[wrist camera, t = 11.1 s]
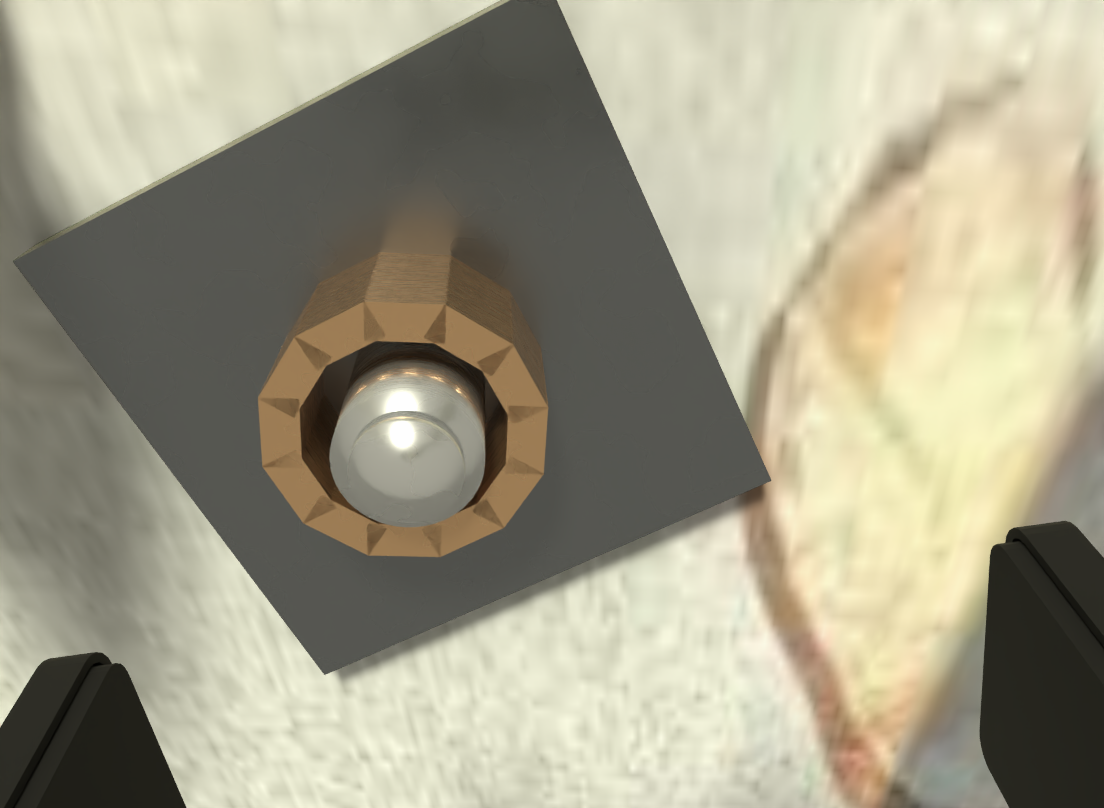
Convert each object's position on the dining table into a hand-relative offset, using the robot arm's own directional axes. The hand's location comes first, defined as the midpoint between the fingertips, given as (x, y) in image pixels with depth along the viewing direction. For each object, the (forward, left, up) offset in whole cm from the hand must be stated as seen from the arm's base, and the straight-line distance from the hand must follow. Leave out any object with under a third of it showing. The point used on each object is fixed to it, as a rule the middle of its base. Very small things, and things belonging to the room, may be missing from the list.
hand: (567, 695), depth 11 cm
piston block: (+5, +3, -20) cm, 21 cm away
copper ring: (+5, +3, -19) cm, 19 cm away
